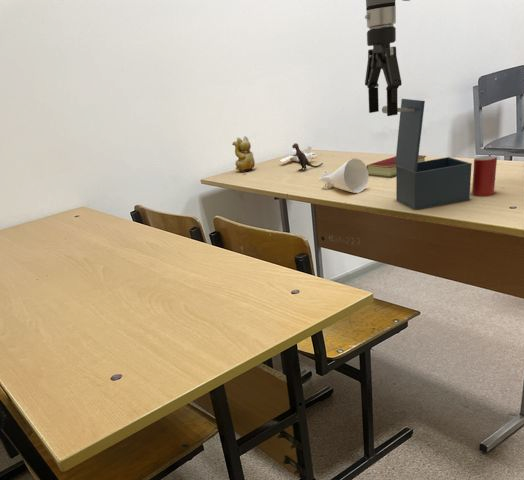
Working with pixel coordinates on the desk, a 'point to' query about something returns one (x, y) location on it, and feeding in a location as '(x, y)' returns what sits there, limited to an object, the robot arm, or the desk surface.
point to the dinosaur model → (302, 158)
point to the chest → (433, 183)
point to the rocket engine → (348, 176)
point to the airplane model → (295, 158)
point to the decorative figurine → (243, 155)
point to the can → (484, 175)
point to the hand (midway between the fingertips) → (382, 113)
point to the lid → (409, 133)
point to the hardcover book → (386, 167)
